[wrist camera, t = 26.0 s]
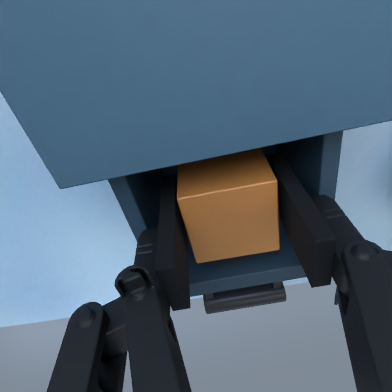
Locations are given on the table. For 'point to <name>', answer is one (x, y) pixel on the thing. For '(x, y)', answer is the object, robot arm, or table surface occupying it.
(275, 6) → the dark blue box
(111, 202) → the table surface
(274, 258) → the drawer
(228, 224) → the carton
